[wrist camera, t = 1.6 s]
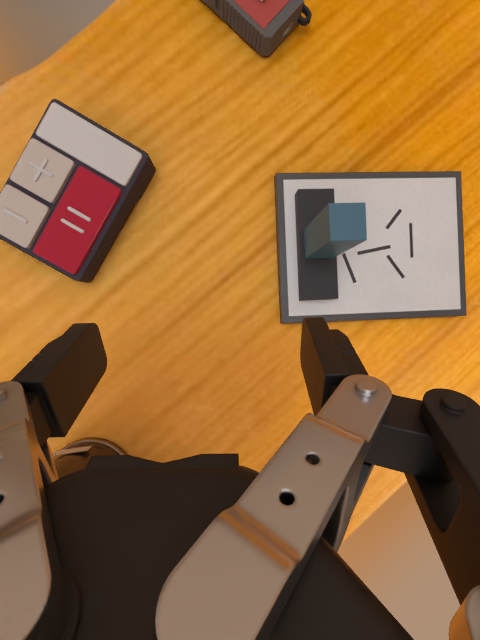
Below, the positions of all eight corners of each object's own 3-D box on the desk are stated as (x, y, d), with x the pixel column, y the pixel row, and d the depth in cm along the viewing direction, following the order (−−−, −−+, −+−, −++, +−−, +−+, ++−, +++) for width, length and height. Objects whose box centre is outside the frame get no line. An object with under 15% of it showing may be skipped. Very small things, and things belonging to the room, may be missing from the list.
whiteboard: (459, 315, 39) (467, 315, 37) (280, 323, 37) (282, 323, 36) (454, 175, 39) (461, 170, 37) (274, 177, 37) (276, 172, 36)
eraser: (333, 299, 36) (374, 292, 27) (298, 300, 36) (327, 294, 27) (329, 194, 36) (368, 149, 27) (294, 194, 36) (321, 150, 27)
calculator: (-26, 226, 31) (48, 91, 31) (4, 235, 36) (69, 117, 35) (74, 282, 32) (148, 150, 32) (92, 284, 36) (157, 168, 36)
